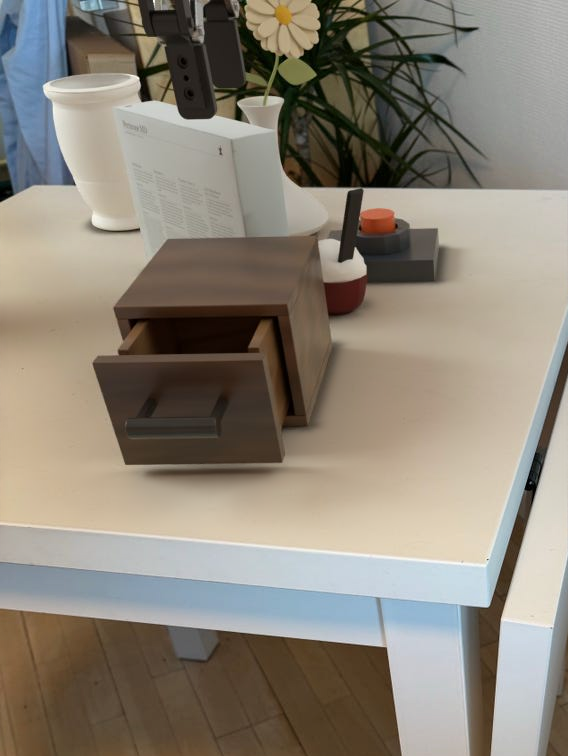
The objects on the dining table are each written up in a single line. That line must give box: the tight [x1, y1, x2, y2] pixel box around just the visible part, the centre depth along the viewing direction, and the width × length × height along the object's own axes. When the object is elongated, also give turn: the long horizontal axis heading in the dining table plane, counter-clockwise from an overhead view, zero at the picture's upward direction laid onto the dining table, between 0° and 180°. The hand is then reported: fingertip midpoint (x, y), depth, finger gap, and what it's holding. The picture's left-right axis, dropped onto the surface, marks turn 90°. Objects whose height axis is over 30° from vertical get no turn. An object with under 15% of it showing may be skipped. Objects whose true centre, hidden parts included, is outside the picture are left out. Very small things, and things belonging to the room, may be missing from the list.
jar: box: [42, 72, 142, 232], centre depth 107 cm, size 11×10×15 cm
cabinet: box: [112, 235, 333, 427], centre depth 74 cm, size 15×13×10 cm
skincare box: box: [112, 100, 289, 264], centre depth 89 cm, size 21×6×16 cm, turn 45°
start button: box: [359, 207, 396, 234], centre depth 95 cm, size 4×4×2 cm
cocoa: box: [318, 187, 368, 315], centre depth 85 cm, size 10×6×12 cm, turn 17°
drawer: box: [91, 316, 292, 466], centre depth 67 cm, size 18×12×8 cm, turn 179°
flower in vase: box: [236, 0, 330, 236], centre depth 98 cm, size 13×11×25 cm
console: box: [326, 217, 440, 284], centre depth 97 cm, size 12×10×4 cm
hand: (215, 101), depth 57 cm, fingers open, 8 cm apart
